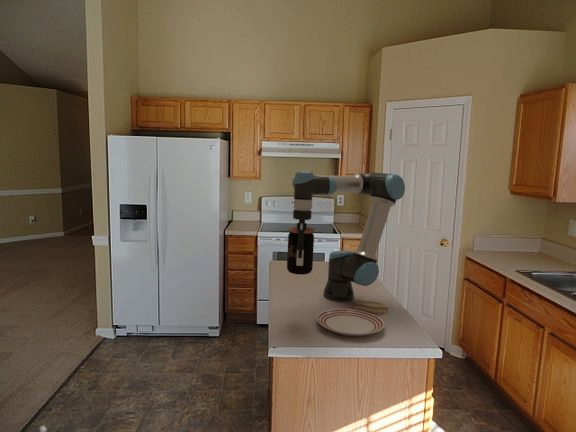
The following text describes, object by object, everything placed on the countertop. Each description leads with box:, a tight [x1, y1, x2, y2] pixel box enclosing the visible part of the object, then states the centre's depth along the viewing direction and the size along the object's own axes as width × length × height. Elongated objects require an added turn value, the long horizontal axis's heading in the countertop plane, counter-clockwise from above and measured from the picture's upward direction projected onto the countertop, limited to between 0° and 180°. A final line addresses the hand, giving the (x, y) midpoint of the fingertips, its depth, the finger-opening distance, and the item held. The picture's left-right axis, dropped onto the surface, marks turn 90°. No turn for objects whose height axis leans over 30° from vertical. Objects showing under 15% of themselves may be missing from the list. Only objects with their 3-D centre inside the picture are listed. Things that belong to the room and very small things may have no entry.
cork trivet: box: [352, 300, 389, 315], centre depth 187 cm, size 16×16×1 cm
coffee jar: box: [286, 226, 315, 276], centre depth 167 cm, size 11×11×18 cm
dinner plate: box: [316, 308, 385, 337], centre depth 164 cm, size 27×27×3 cm
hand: (299, 261), depth 167 cm, fingers closed on coffee jar, 11 cm apart
